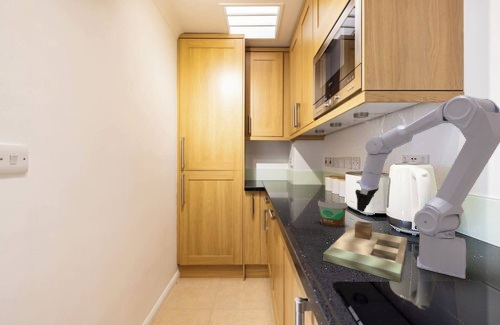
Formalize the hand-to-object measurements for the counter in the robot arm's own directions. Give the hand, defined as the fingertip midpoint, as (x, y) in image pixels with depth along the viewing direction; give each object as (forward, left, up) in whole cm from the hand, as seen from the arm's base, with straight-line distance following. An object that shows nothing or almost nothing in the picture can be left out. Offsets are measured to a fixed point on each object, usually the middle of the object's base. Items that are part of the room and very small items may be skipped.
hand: (362, 207), depth 83 cm
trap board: (-4, +12, -11) cm, 17 cm away
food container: (+14, -8, -11) cm, 19 cm away
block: (-1, +5, -9) cm, 11 cm away
